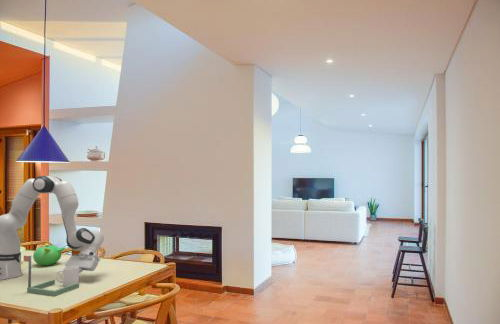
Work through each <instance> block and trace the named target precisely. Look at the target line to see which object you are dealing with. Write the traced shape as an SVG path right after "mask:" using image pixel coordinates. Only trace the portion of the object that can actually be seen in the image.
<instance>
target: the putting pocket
mask: <svg viewBox="0 0 500 324" xmlns="http://www.w3.org/2000/svg"><path fill="white" fill-rule="evenodd" d="M23 262H25V263H26V262H27V263H28V274H27V275H28V277H27V278H28V279H27V281H28V282H27V287H26V292H27V293H29V294H35V295H42V296H47V297H49V296H50V297H57V296H59V295H62V294H64V293H65V294H66V293H68V292H70V291H73V290H76V289H78V288H79V287H80V283H75V284H72V285H69V286H66V287H65V286H63V287H61V288H58V289H55V290H53V289H47V288H49V287H51V286H54V285H56V279H51V280H48V281H44V282H41V283H38V284H35V285H31V284H32V255H23Z"/></svg>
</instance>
